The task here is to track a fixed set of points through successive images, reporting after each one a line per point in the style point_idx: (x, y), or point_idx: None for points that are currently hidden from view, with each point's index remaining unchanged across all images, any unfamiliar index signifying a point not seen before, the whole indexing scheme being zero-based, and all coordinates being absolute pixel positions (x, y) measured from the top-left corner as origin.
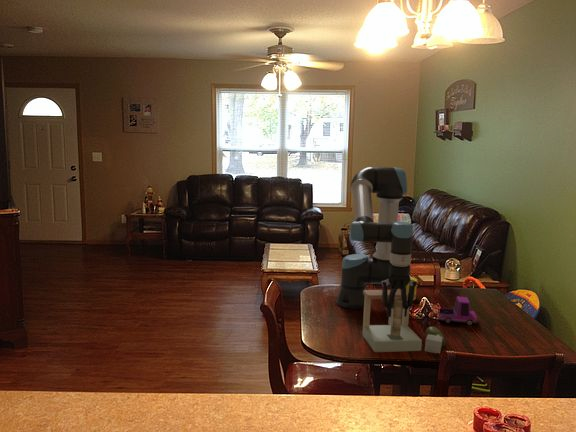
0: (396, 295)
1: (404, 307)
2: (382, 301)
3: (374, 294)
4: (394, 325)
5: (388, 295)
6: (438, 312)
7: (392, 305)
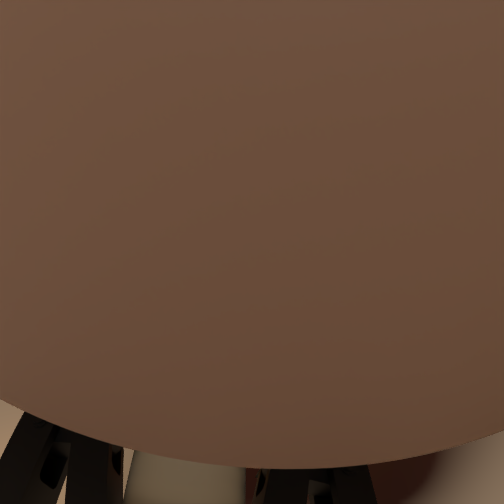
0: (312, 454)
1: (259, 470)
2: (15, 440)
3: None
4: None
5: (71, 419)
6: None
7: (122, 472)
